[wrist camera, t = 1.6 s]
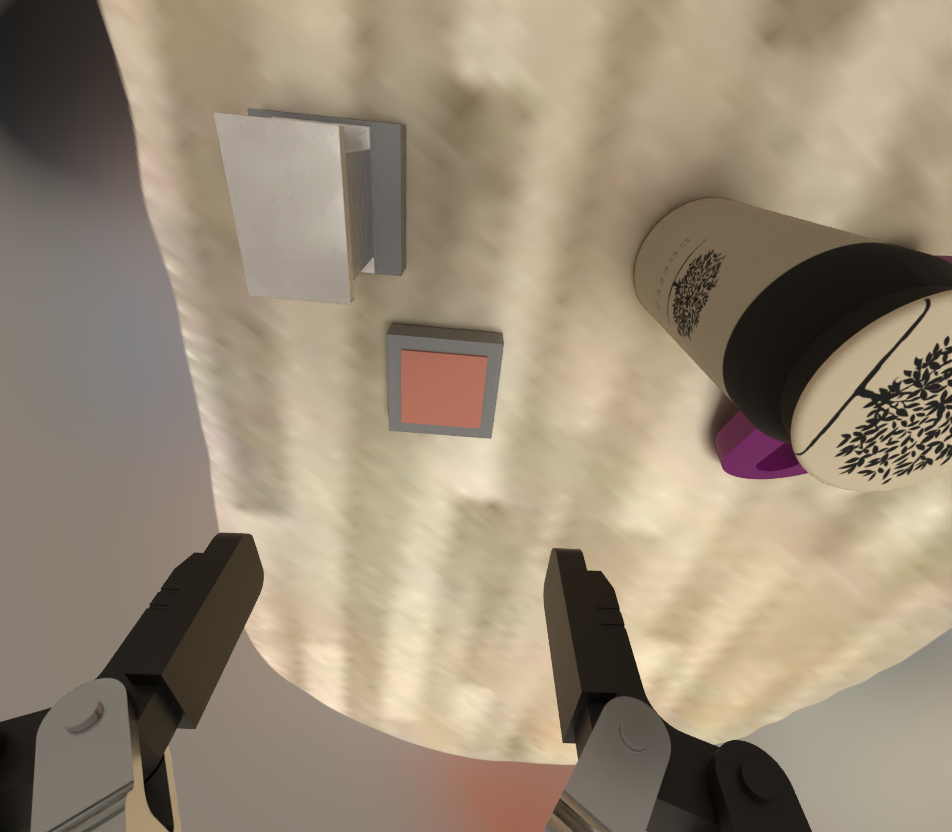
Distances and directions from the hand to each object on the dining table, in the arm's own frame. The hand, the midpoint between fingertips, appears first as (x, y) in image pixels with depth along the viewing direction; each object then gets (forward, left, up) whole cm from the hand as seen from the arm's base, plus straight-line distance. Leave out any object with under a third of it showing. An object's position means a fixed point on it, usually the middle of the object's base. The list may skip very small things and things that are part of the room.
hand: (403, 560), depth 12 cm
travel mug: (-4, +16, -22) cm, 28 cm away
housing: (-6, -7, -20) cm, 22 cm away
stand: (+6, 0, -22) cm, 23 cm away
